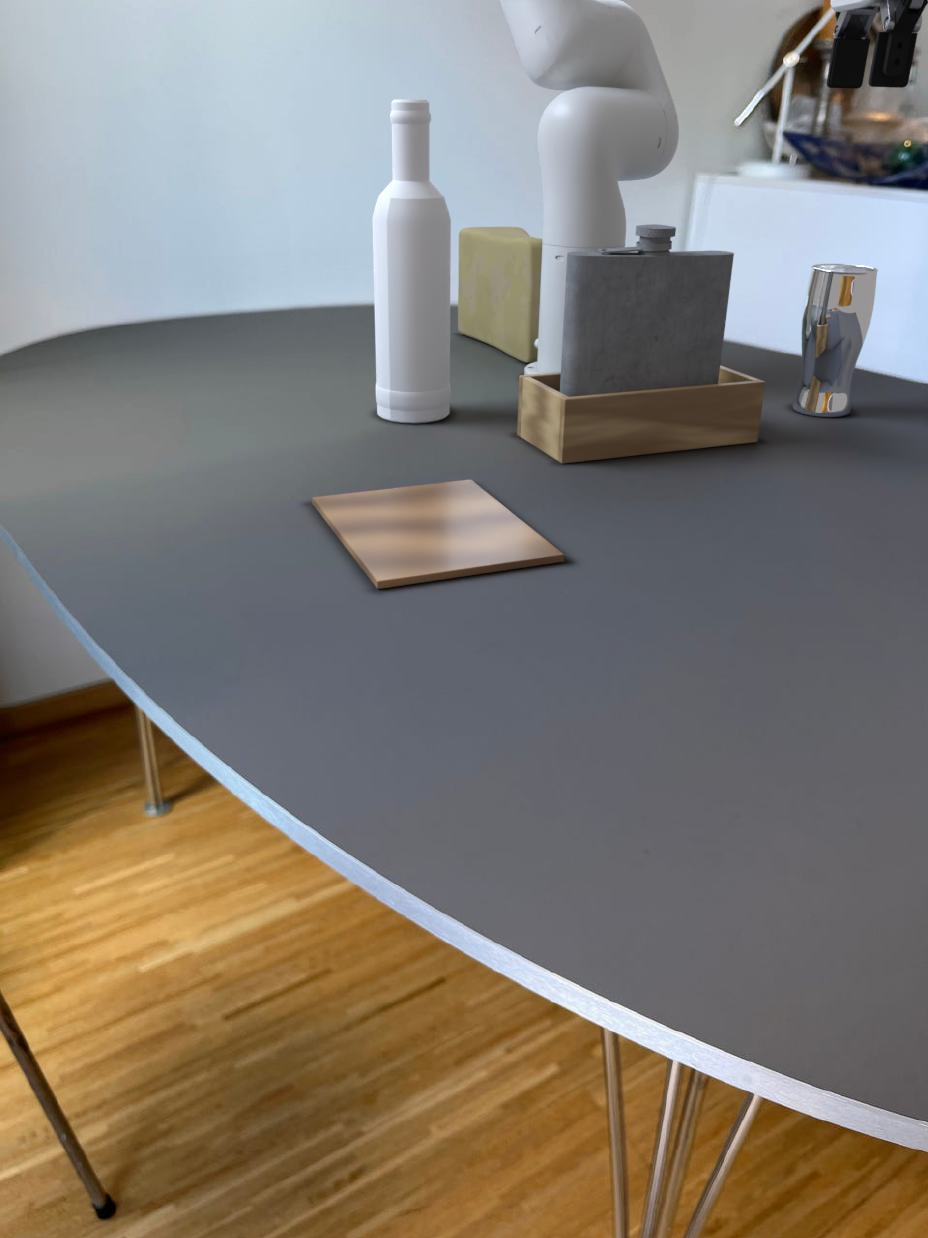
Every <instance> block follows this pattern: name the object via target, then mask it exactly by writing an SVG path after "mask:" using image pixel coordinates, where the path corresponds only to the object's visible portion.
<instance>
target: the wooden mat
mask: <svg viewBox="0 0 928 1238" xmlns="http://www.w3.org/2000/svg"><path fill="white" fill-rule="evenodd" d="M311 504H312V505H313V506H314V508H315V509H316V511H317V512H318V513H319V514H320V516H321V517H322V518H323V520H324V521H325V523H326V524H327V525H328V526H329V527H330V529H331V530H332V532H333V533H334V534H335V535H336V537H337V538H338V539H339V541H340V542H341V543H342V545H343V546H344V547H345V549H346V550H347V551H348V552H349V554H350V555H351V556H352V558H353V559H354V560H355V561H356V563H357V564H358V565H359V567H360V568H361V570H362V571H363V572H364V573H365V575H366V576H367V577H368V578H369V580H370V581H371V582H372V584H373V585H374V586H375V588H376V589H377V590H382V589H388V588H395V587H401V586H408V585H415V584H421V583H430V582H435V581H442V580H449V579H457V578H463V577H469V576H477V575H483V574H484V575H485V574H489V573H496V572H503V571H509V570H516V569H517V570H519V569H525V568H530V567H531V568H532V567H537V566H544V565H550V564H558V563H564V562H565V554H564V553H563V552H562V551H561V550H559V549H558V548H557V547H556V546H555V545H553V544H552V543H551V542H549V541H548V540H547V539H546V538H544V537H543V536H542V535H541V534H539V533H538V532H537V531H536V530H535V529H533V528H532V527H531V526H530V525H529V524H527V523H526V522H524V521H523V520H522V519H521V518H519V516H517V515H516V514H515V513H513V512H512V511H511V510H509V508H507V507H506V506H504V505H503V504H502V503H501V502H500V501H499V500H497V499H496V498H495V497H493V496H492V495H491V494H490V493H489V492H487V491H486V490H485V489H484V488H482V487H481V486H480V485H478V484H477V483H476V482H474V480H472V479H462V480H453V481H445V482H434V483H427V484H419V485H417V484H416V485H410V486H401V487H400V486H399V487H393V488H383V489H377V490H376V489H375V490H374V489H373V490H365V491H357V492H356V491H355V492H347V493H340V494H339V493H338V494H330V495H321V496H313V497H312V498H311Z"/></svg>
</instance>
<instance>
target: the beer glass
mask: <svg viewBox="0 0 928 1238" xmlns="http://www.w3.org/2000/svg"><path fill="white" fill-rule="evenodd" d="M878 272H879V271H878V268H876V267H873V266H869V265H860V264H853V263H851V264H850V263H818V264H814V265H812V266H811V268H810V274H809V278H808V282H807V286H806V291H805V294H804V295H805V296H804V301H803V307H802V316H801V374H800V379H799V385H798V388H797V391H796V394H795V396H794V399H793V403H792V409H793V410H794V412H797V413H799V414H803V415H807V416H812V417H819V418H840V417H846V416H848V415H849V414H850V413H851V410H852V409H851V408H852V407H851V406H852V403H851V400H852V399H851V397H852V396H851V395H852V394H851V391H852V383H853V382H852V381H853V376H854V372H855V369H856V366H857V363H858V360H859V357H860V355H861V352H862V349H863V347H864V344H865V341H866V338H867V335H868V332H869V329H870V325H871V321H872V315H873V311H874V306H875V305H874V304H875V299H876V298H875V297H876V288H877V277H878Z"/></svg>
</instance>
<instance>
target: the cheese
mask: <svg viewBox="0 0 928 1238" xmlns="http://www.w3.org/2000/svg"><path fill="white" fill-rule="evenodd" d="M541 265H542V238H539V237H534V236H531V235H530V234H529V233H528V232H527V231H526V230H525V229H524V228H522V227H519V226H470V227H464V228H462V229H460V231H459V233H458V288H457V289H458V295H457V330H458V332H459V334H461V335H463V336H467V337H468V338H471V339H474V340H477V341H479V342H482V343H485V344H487V345H489V346H491V347H493V348H496V349H498V350H499V351H501V352H503V353H505V354H506V355H508V356H511V357H513V358H514V359H516V360H519V361H521V362H523V363H526V364H531V363H534V362H537V358H538V349H537V348H536V347H535V345H534V343H535V340H536V339H538V335H539V312H540V288H541Z"/></svg>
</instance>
